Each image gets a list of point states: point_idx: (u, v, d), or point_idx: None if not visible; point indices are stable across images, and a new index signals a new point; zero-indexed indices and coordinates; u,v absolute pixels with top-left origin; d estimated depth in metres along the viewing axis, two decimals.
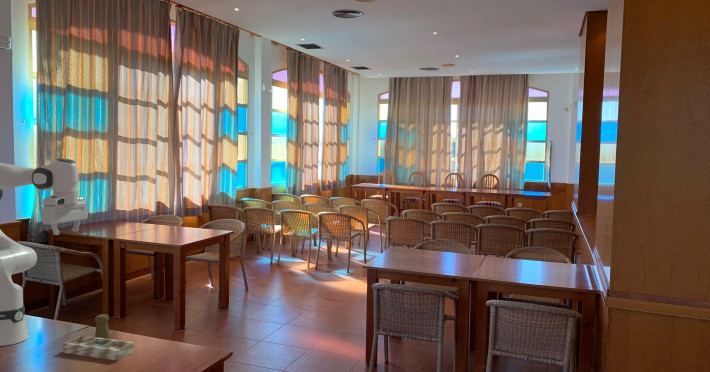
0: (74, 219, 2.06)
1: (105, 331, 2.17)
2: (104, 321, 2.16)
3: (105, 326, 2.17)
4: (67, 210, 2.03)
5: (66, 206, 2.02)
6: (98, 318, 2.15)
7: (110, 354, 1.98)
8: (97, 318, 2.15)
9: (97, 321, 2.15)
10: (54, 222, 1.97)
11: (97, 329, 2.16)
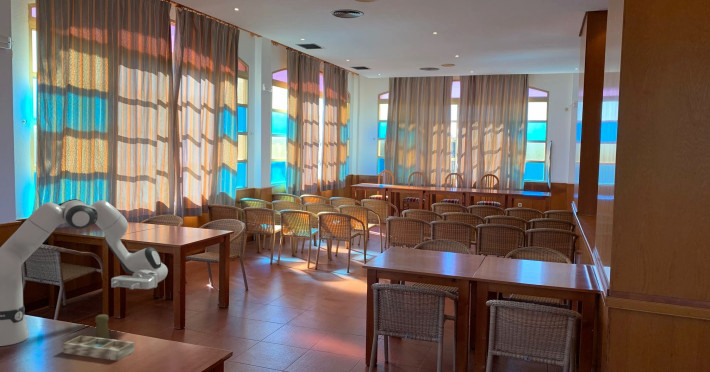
0: (125, 286, 2.34)
1: (105, 331, 2.17)
2: (104, 321, 2.16)
3: (105, 326, 2.17)
4: None
5: None
6: (98, 318, 2.15)
7: (110, 354, 1.98)
8: (97, 318, 2.15)
9: (97, 321, 2.15)
10: (143, 288, 2.31)
11: (97, 329, 2.16)
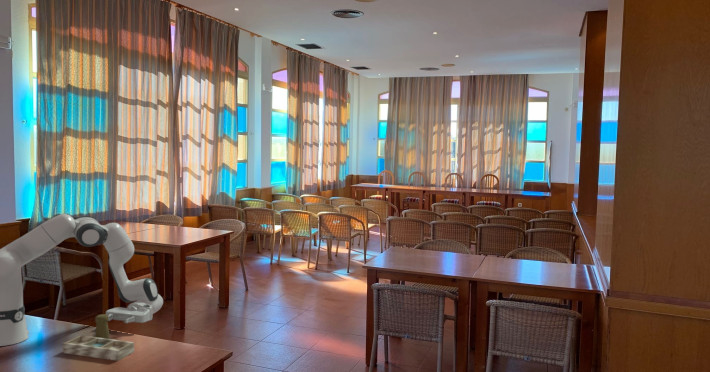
0: None
1: (105, 331, 2.17)
2: (104, 321, 2.16)
3: (105, 326, 2.17)
4: None
5: None
6: (98, 318, 2.15)
7: (110, 354, 1.98)
8: (97, 318, 2.15)
9: (97, 321, 2.15)
10: None
11: (97, 329, 2.16)
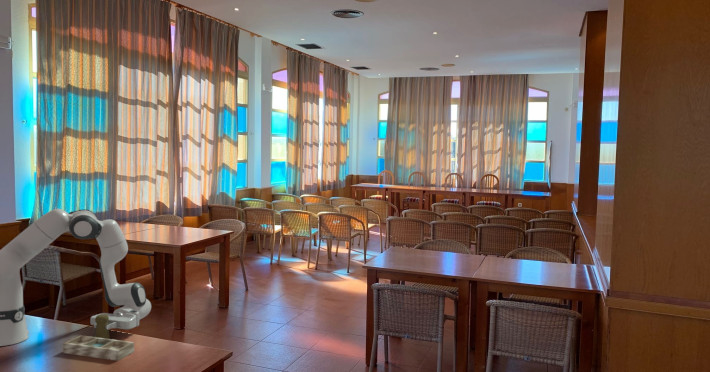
0: None
1: (105, 331, 2.17)
2: (104, 321, 2.16)
3: None
4: None
5: None
6: (98, 318, 2.15)
7: (110, 354, 1.98)
8: (97, 318, 2.15)
9: (97, 321, 2.15)
10: None
11: (97, 329, 2.16)
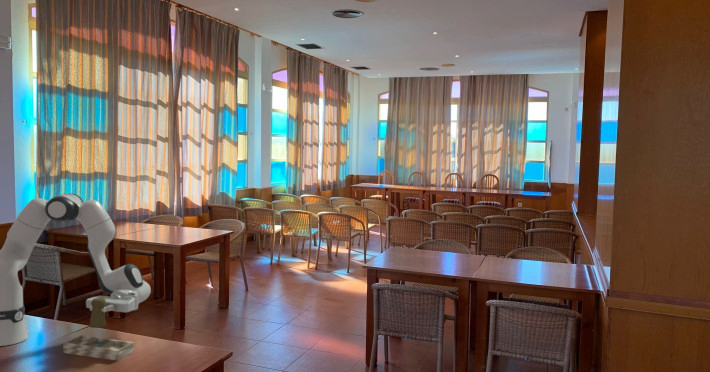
0: None
1: (102, 315, 2.03)
2: (101, 305, 2.02)
3: None
4: None
5: None
6: (95, 301, 2.01)
7: (110, 354, 1.98)
8: (93, 301, 2.01)
9: (93, 304, 2.01)
10: None
11: (93, 313, 2.02)
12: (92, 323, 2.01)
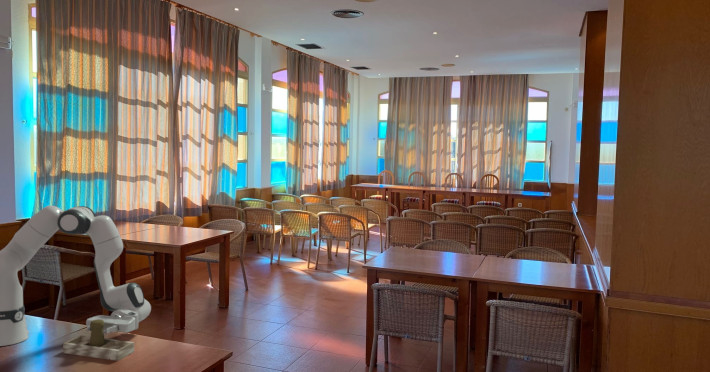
0: None
1: (101, 337, 2.03)
2: (100, 327, 2.03)
3: (101, 332, 2.03)
4: None
5: None
6: (93, 324, 2.02)
7: (110, 354, 1.98)
8: (92, 324, 2.02)
9: (92, 327, 2.02)
10: None
11: (92, 335, 2.02)
12: (92, 345, 2.02)
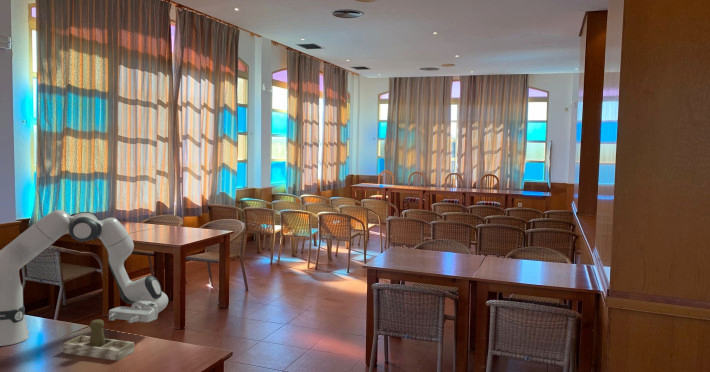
0: None
1: (101, 337, 2.03)
2: (99, 327, 2.03)
3: (100, 332, 2.03)
4: None
5: None
6: (93, 324, 2.02)
7: (110, 354, 1.98)
8: (92, 324, 2.02)
9: (92, 327, 2.02)
10: None
11: (92, 335, 2.02)
12: (91, 345, 2.02)
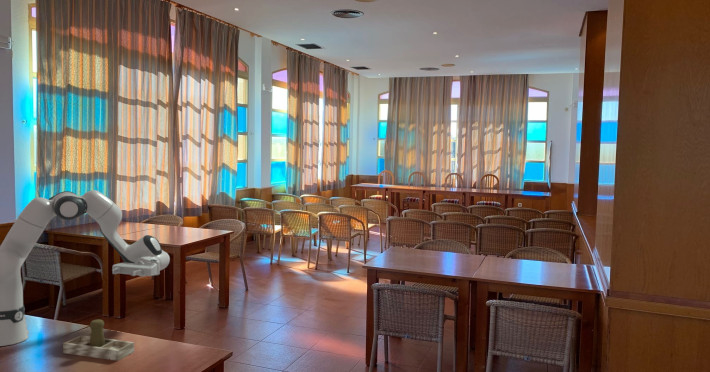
0: None
1: (101, 337, 2.03)
2: (99, 327, 2.03)
3: (101, 332, 2.03)
4: None
5: None
6: (93, 324, 2.02)
7: (110, 354, 1.98)
8: (92, 324, 2.02)
9: (92, 327, 2.02)
10: (145, 275, 2.25)
11: (92, 335, 2.02)
12: (91, 345, 2.02)
